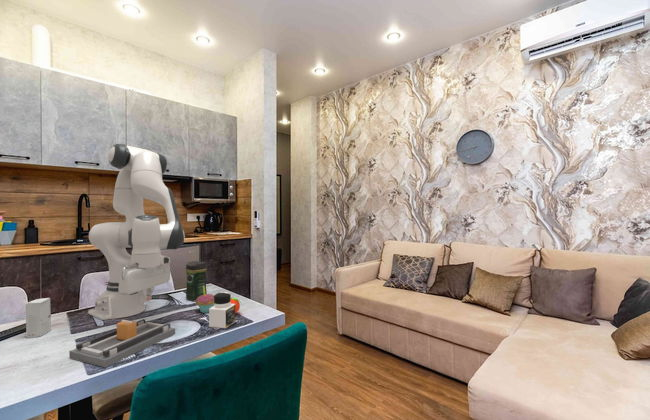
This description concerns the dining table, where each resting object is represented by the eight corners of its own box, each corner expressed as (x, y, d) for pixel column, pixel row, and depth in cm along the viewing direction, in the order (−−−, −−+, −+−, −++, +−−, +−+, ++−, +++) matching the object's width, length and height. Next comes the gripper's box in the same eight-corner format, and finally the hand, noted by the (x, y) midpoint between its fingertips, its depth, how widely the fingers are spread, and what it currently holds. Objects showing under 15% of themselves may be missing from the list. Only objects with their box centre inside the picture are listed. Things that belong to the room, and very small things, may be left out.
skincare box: (40, 336, 104) (40, 302, 104) (25, 338, 103) (24, 303, 103) (51, 329, 110) (51, 297, 110) (37, 331, 109) (36, 298, 109)
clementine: (244, 312, 129) (244, 295, 129) (238, 318, 122) (238, 300, 122) (227, 311, 129) (227, 295, 129) (219, 317, 122) (219, 300, 122)
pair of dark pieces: (76, 348, 90) (76, 344, 90) (143, 322, 111) (143, 319, 111) (105, 356, 85) (105, 352, 85) (169, 327, 106) (169, 324, 106)
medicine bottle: (226, 328, 111) (225, 296, 111) (208, 327, 112) (208, 295, 112) (235, 321, 118) (235, 291, 118) (219, 320, 119) (219, 290, 119)
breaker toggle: (117, 338, 97) (116, 321, 97) (125, 334, 100) (125, 318, 100) (127, 340, 96) (127, 323, 96) (136, 337, 99) (136, 320, 98)
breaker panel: (69, 357, 90) (69, 345, 90) (143, 327, 112) (142, 318, 112) (105, 367, 84) (105, 354, 84) (175, 333, 106) (175, 323, 106)
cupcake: (210, 314, 126) (209, 286, 125) (191, 313, 127) (191, 285, 127) (220, 307, 134) (220, 281, 134) (202, 306, 135) (202, 280, 135)
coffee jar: (209, 298, 148) (209, 261, 148) (195, 302, 142) (195, 263, 142) (197, 295, 154) (197, 259, 153) (183, 299, 147) (183, 261, 147)
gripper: (130, 266, 94) (130, 310, 93) (173, 257, 114) (173, 294, 113) (113, 266, 95) (112, 310, 94) (158, 257, 115) (158, 293, 114)
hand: (146, 301), depth 104 cm, fingers closed
